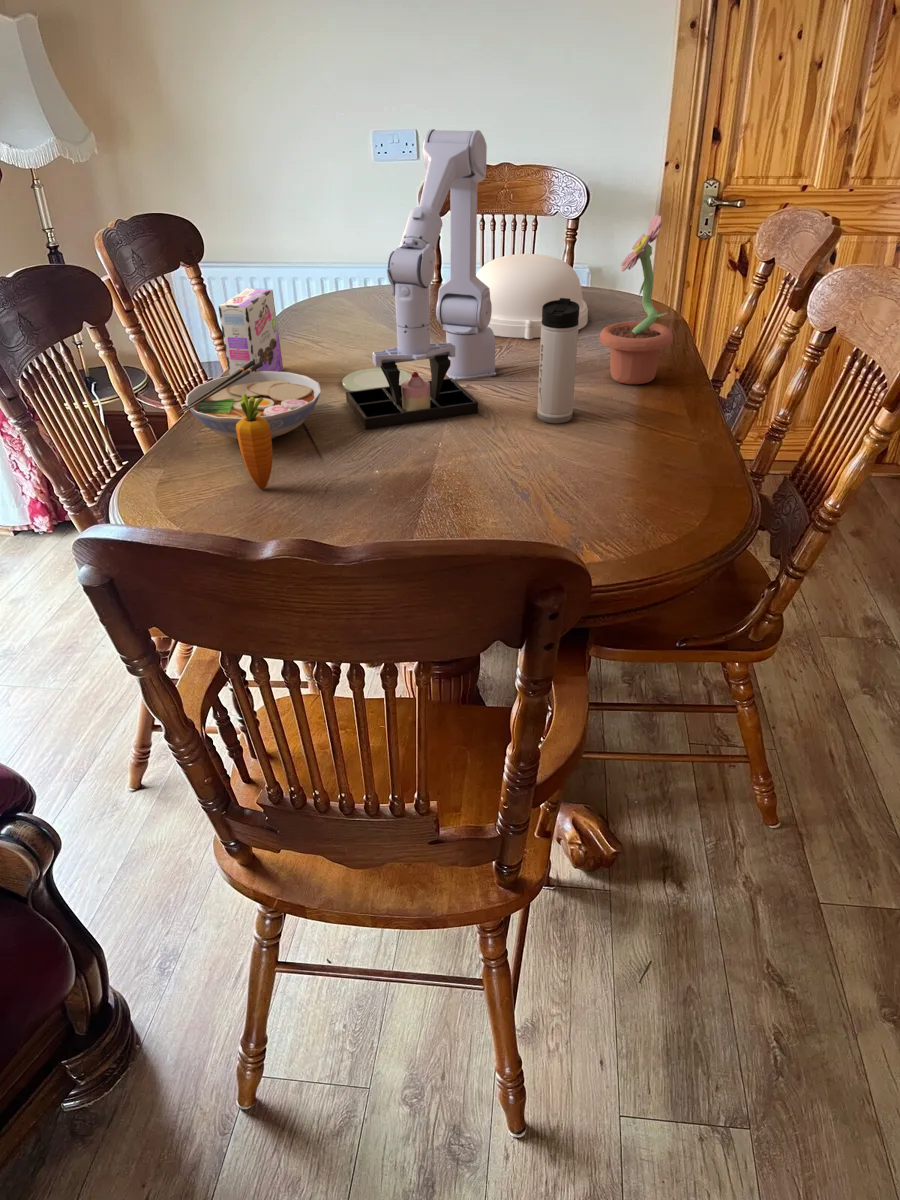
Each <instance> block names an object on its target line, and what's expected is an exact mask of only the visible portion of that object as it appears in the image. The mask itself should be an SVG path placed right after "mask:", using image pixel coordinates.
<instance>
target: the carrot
mask: <svg viewBox="0 0 900 1200" xmlns="http://www.w3.org/2000/svg"><path fill="white" fill-rule="evenodd" d="M262 400H263V398H261V397H260V398H259V399H258V400H257V401H256V403H255V398H254V397H250V400H249V401H248V398H247V395H246V394H243V395H242V401H241V402H240V404H241V407H242V409H243V411H244V413H245V415H246V417H244V418H243V419H241V420H240V421H239V422H238V423H237V424H236V432H237V437H238V439H237V442H238V447H239V451H240V454H241V457H242V460H243V463H244V465H245V467H246V471H247V472H248V474H249V476H250V478H251V479H252V481H253V482H254V484H255V485H256V486H257V487H258V489H260V490H261V491H263V490H265V488H266V487H267V485H268V483H269V480H270V478H271V473H272V469H273V452H274V451H273V441H272V440H273V439H271V431H270V425H269V423H268V422H267V421H266V420H265V418H263V417H260V416H257V414H258V413H259V411H258V410H256V409H257V407H258V405H259V404H260V402H261V401H262ZM254 403H255V405H254Z"/></svg>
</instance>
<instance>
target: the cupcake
mask: <svg viewBox="0 0 900 1200" xmlns="http://www.w3.org/2000/svg"><path fill="white" fill-rule="evenodd" d="M411 375H412V376H411V377H410V378H409V379H408V380H407V381H404V382H403V383H402V384H401V393H402V405H403V410H404V412H409V411H416V410H423V409H430V383H429V382H428V381H429V380H425V379H423V378H422V377H421V376H420V375H419V372H417V371H413V372H412V373H411Z"/></svg>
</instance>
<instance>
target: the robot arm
mask: <svg viewBox="0 0 900 1200" xmlns="http://www.w3.org/2000/svg"><path fill="white" fill-rule="evenodd" d="M487 149H488V146H487V142H486V138H485V135H483V133H482V131H481V130H480V129H475V130H447V129H446V130H445V129H441V130H440V129H439V130H438V129H434V128H431V129H429V130H428V131H427V133H426V134H425V136H424V139H423V143H422V157H423V162H424V167H425V171H426V172H425V177H424V181H423V182H424V183H423V186H422V191H421V195H420V200H419V204H418V206H417V207H414V208H413V209H411V210H410V212H409V215H408V218H407V221H406V224H405V228H404V230H403V233H402V237H401V240H400V242H399V246H398V247H397V248H396V249H394V250H392V251H391V252H390V254H389V256H388V258H387V259H388V260H387V269H386V274H387V278H388V279H387V280H388V281H389V284H390V288H391V290H390V291H391V294H392V295H391V296H393V297H394V300H395V301H394V302H395V303H394V304H395V305H394V306H395V321H396V323H395V325H396V342H397V344H396V345H397V346H396V347H391V348H388V349H384V350H381V351H374V352H372V354H371V355H372V364H373V365H374V366H375V368H381V369H382V371H383V373H384V375H385V377H386V379H387V381H388V384H389V387H390V389H391V393H392V397H393V402H394V403H395V404H396V405H400V391H399V377H400V371H399V370H400V369H399V368H398V365H397V364H399V363H408V362H414V361H423V360H429V367H430V368H429V369H430V377H431V379H430V381H431V392H432V396H433V398H434V399H435V400H436V399H439V395H440V390H441V386H442V383H443V380H444V379H445V377H446V376H447V377H448V378H452V379H454V380H455V381H461V380H466V379H476V378H482V377H489V376H490V377H495V376H497V372H496V338H495V335H494V333H493V331H492V329H491V328H490V327H487V326H488V325H489V323H490V320H491V314H492V305H491V301H490V291H489V287H488V286H487V285H485V284H484V283H483V282H482V281H481V280H479V279H478V278H477V276H476V274H477V235H478V231H477V229H478V228H477V227H478V188H479V187H478V186H479V183H480V182H482V181H485V180H486V174H487V153H488V151H487ZM449 192H450V193H449ZM448 194H449V195H450V200H449V201H450V205H449V206H450V207H449V208H450V216H449V217H450V223H449V224H450V225H449V226H450V278H448V279H447V280H446V281H445V282H443V283H442V284H441V285H440V286H439V288H438V294H437V302H436V308H435V313H436V314H435V315H436V320H437V322H438V323H439V325H440V326H441V327H442V331H444V332H445V343H431V317H430V315H431V314H430V313H431V312H430V285H431V284H432V282H433V279H434V278H435V277H434V275H435V268H436V267H435V266H436V264H435V263H436V260H437V259H436V258H437V255H436V253H435V250H436V247H437V244H438V241H439V239H440V234H441V231H442V229H443V219H442V217H441V215H440V213H441V211H442V208H443V206H444V203H445V201H446V199H447V197H448Z"/></svg>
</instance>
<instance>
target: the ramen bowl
mask: <svg viewBox="0 0 900 1200" xmlns="http://www.w3.org/2000/svg"><path fill="white" fill-rule="evenodd" d="M253 365H254V361H251V362H249V363H248V364H246V365H245V366H243V367H242V368H241V369H239V370H238V371H236V372H235V373H233V374H232V375H229V374H228V375H225V376H222V377H217V378H214V379H211V380H209V381H206V382H204V383H201V384H199V385H197V386H195V387H194V388H193V389H192V390H191V391H190V392H188V393H187V394H186V395H185V407H183V408H182V409H180V410H179V411H177V412H176V414H179V415H182V414H183V413H185V412H187V411H188V410H189V411H190V412H191V414H192V415H193V416H194V417H195V418H196V419H197V420H198V421H199V422H200V423H202V424H203V425H204V426H206V427H207V428H208V429H210V430H211V431H212V432H213V433H216V434H217V435H220V436H222V437H226V438H230V439H233V440H238V437H237V432H236V424H237V423H238V422H239V421H240V420H241V419H243V418H244V417H246V415H245V413H244V411H243V409H242V407H241V404H240V402H241V401H242V395H243V394H246V395H247V398H248V401H249V400H250V397H254V398H255V403H256V401H257V400H258V399H259V398H260V397H261V398H263V400H262V401H261V402H260V404H259V405H258V407H257V409H256V410H258V411H259V413H258V414H257V416H260V417H263V418H265V420H266V421H267V422H268V423H269V425H270V431H271V439H272V440H273V439H275V438H277V437H278V436H282V435H285V434H287V433H289V432H291V431H293V430H295V429H297V428H299V426H301V425H302V424H303V423H304V422H305V421H306V419H307V418H308V416H310V414H311V413H312V411H313V410H314V409H315V406H316V405H317V403H318V402H319V398H320V395H321V393H322V389H321V386H320V382H319V381H316V380H315V379H313V378H311V377H309V376H307V375H303V374H299V373H294V372H290V371H281V372H273V371H260V372H253V371H255V370H256V369H258V368H260V367H262V366H263V363H262V362H259V363H257V364H256V365H254V366H253ZM252 366H253V367H252ZM250 367H251V368H250ZM249 368H250V369H249ZM247 369H248V370H247ZM245 370H246V371H245ZM243 371H245V372H243ZM242 372H243V373H242ZM255 403H254V405H255Z"/></svg>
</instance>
